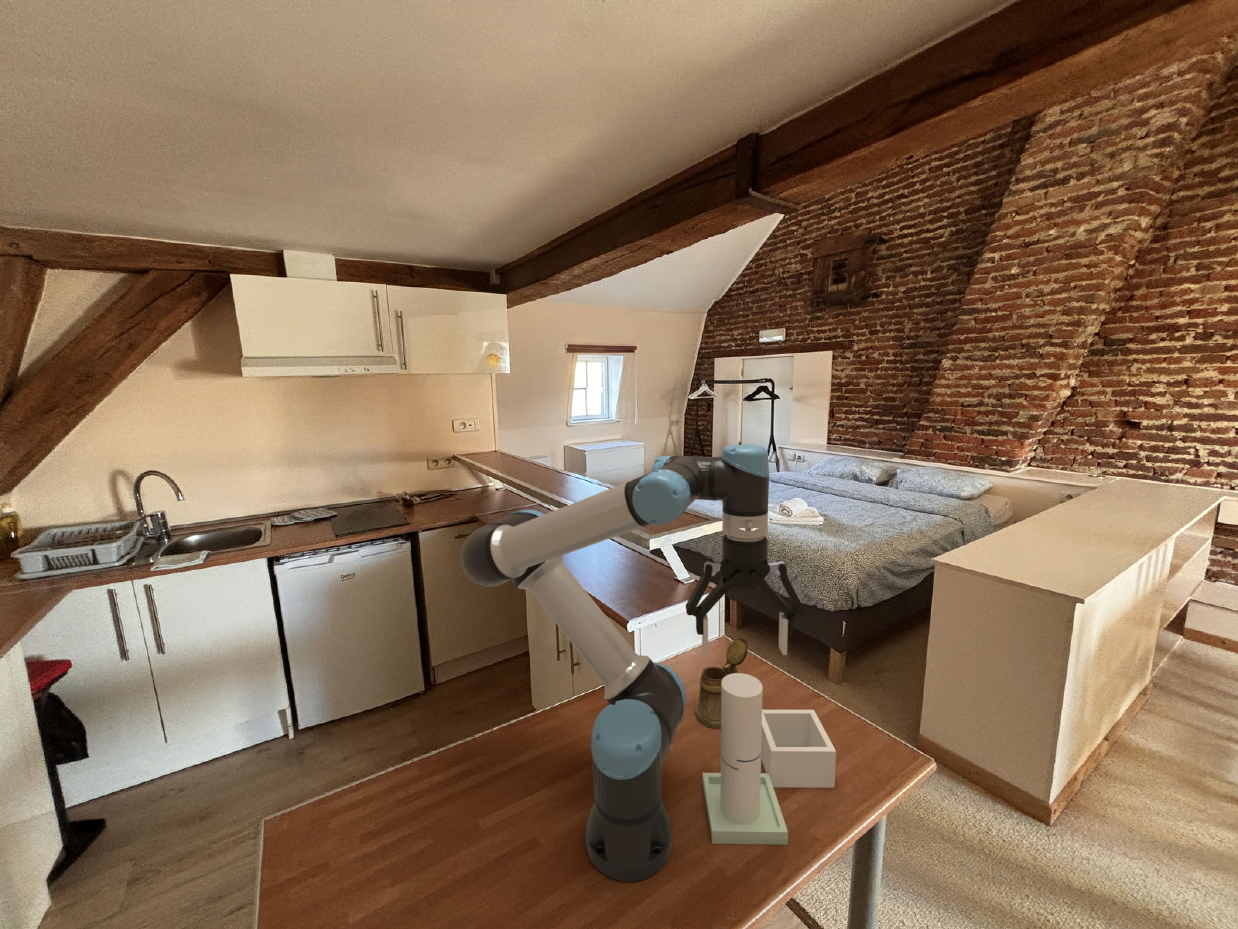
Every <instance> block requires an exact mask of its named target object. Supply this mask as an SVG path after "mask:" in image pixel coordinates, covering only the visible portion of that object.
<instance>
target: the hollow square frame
mask: <svg viewBox="0 0 1238 929" xmlns="http://www.w3.org/2000/svg"><path fill="white" fill-rule="evenodd" d="M761 763H762V765H763V769H764V771H765V773H769V776H770V779H771V782H772V785H773V788H802V789H803V788H815V789H816V788H817V789H819V788H820V789H821V788H822V789H823V788H826V789H829V788H831V789H834V788H835V787H836V786H835V785H836V783H835V782H836V781H835V780H836V763H837V751H836V749H835V747H834V745H833V743H832V741H831V739H830V737H829V735H828V734H827V731H826V730H825V728H824V726H823V724H822V722H821V720H820V719H819V717H818V715H817V713H816V711H815V709H762V738H761Z"/></svg>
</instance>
